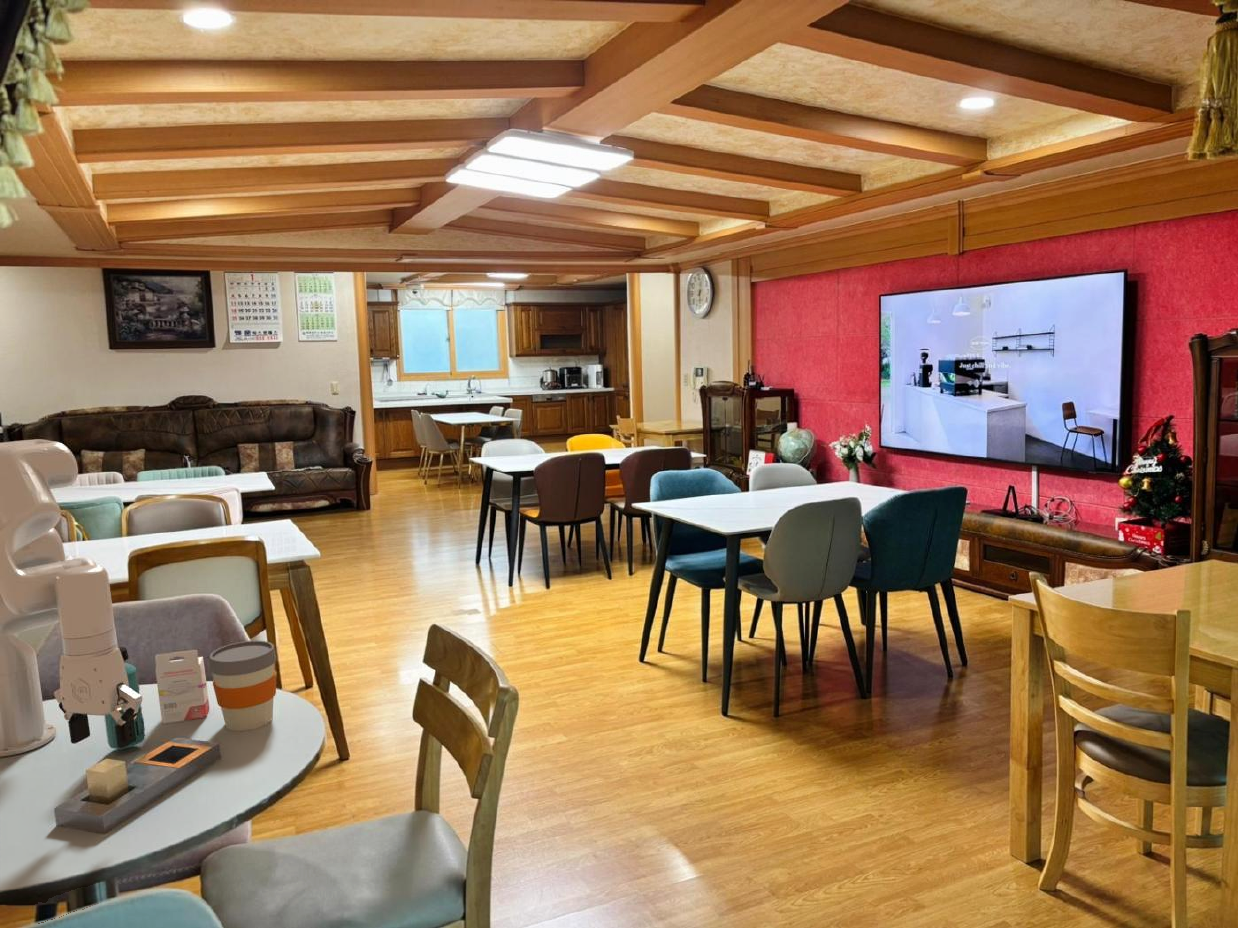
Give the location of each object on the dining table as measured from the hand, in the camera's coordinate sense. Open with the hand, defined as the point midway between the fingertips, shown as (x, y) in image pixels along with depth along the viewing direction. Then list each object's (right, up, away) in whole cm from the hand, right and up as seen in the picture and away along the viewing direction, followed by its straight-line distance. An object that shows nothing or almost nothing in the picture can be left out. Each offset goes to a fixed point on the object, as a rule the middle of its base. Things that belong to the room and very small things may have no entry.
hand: (103, 742), depth 147 cm
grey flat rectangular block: (+2, -11, +9) cm, 14 cm away
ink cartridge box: (-5, -7, +39) cm, 40 cm away
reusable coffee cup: (+9, -7, +35) cm, 37 cm away
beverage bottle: (-10, -9, +25) cm, 28 cm away
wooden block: (0, -12, +2) cm, 12 cm away
